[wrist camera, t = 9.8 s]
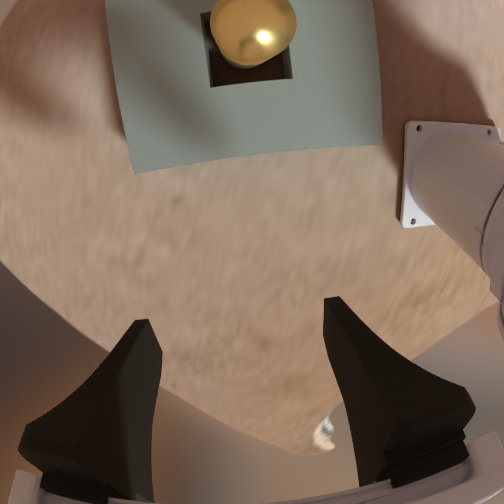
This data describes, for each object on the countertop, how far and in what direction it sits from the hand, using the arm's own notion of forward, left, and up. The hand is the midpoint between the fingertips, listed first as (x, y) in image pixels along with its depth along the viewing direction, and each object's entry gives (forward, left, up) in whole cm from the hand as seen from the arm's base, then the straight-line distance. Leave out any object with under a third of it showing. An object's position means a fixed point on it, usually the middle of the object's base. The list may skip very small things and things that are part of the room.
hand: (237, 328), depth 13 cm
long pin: (-2, -11, -10) cm, 15 cm away
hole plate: (-2, -11, -10) cm, 15 cm away
